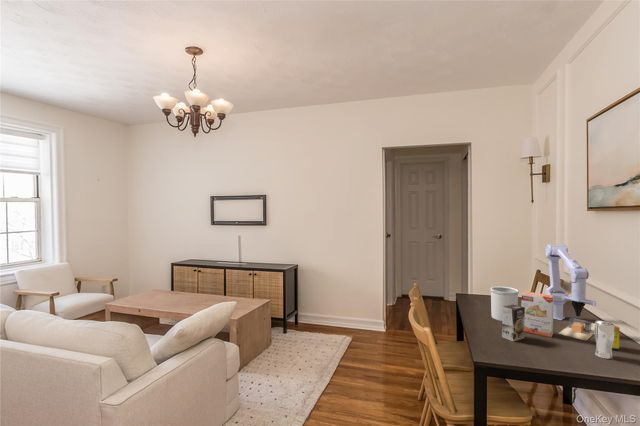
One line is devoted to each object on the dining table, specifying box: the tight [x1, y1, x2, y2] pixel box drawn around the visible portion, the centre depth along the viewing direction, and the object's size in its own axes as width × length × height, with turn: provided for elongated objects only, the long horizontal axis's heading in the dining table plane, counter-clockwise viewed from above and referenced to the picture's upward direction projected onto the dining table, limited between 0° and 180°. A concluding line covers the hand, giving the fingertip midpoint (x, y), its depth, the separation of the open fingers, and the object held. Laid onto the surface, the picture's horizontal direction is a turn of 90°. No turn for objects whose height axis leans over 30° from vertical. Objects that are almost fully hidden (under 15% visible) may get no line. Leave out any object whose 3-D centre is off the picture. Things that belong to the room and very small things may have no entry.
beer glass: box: [594, 320, 615, 360], centre depth 151 cm, size 7×7×15 cm
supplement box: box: [612, 324, 620, 351], centre depth 161 cm, size 6×6×11 cm
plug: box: [572, 323, 584, 333], centre depth 183 cm, size 11×4×3 cm, turn 129°
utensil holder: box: [490, 285, 519, 322], centre depth 201 cm, size 15×15×18 cm
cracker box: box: [520, 290, 554, 338], centre depth 178 cm, size 14×6×21 cm, turn 50°
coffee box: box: [501, 304, 525, 342], centre depth 171 cm, size 9×6×16 cm
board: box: [557, 322, 595, 342], centre depth 183 cm, size 12×34×1 cm, turn 129°
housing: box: [568, 317, 592, 332], centre depth 183 cm, size 9×4×5 cm, turn 39°
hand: (578, 315), depth 181 cm, fingers closed
